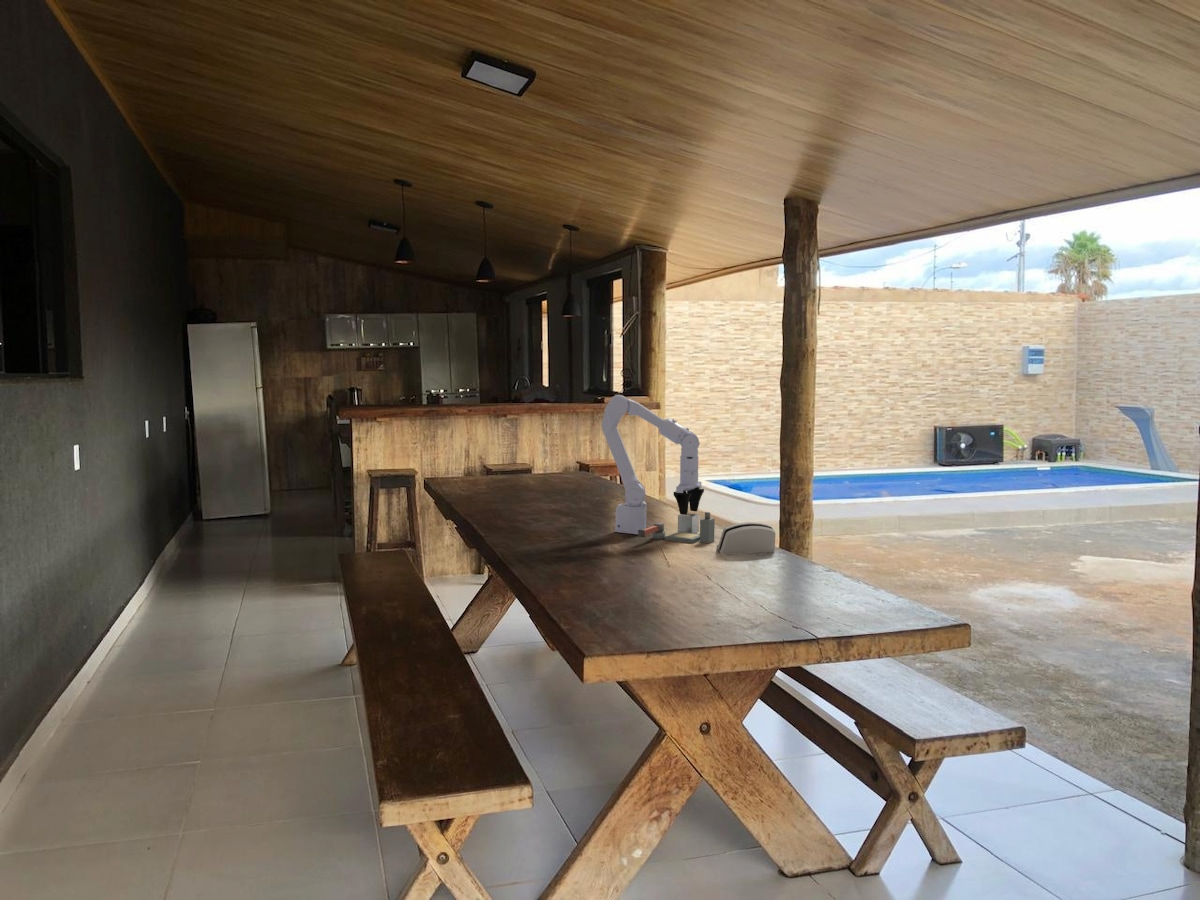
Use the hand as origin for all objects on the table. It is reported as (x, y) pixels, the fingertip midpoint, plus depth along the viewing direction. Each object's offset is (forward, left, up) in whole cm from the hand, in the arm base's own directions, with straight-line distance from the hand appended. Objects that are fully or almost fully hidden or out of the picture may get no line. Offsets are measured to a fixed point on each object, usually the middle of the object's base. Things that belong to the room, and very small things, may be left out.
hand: (688, 512), depth 298 cm
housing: (0, 0, -7) cm, 7 cm away
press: (+4, -10, -7) cm, 13 cm away
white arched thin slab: (+27, -18, -7) cm, 33 cm away
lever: (-4, -18, -4) cm, 19 cm away
